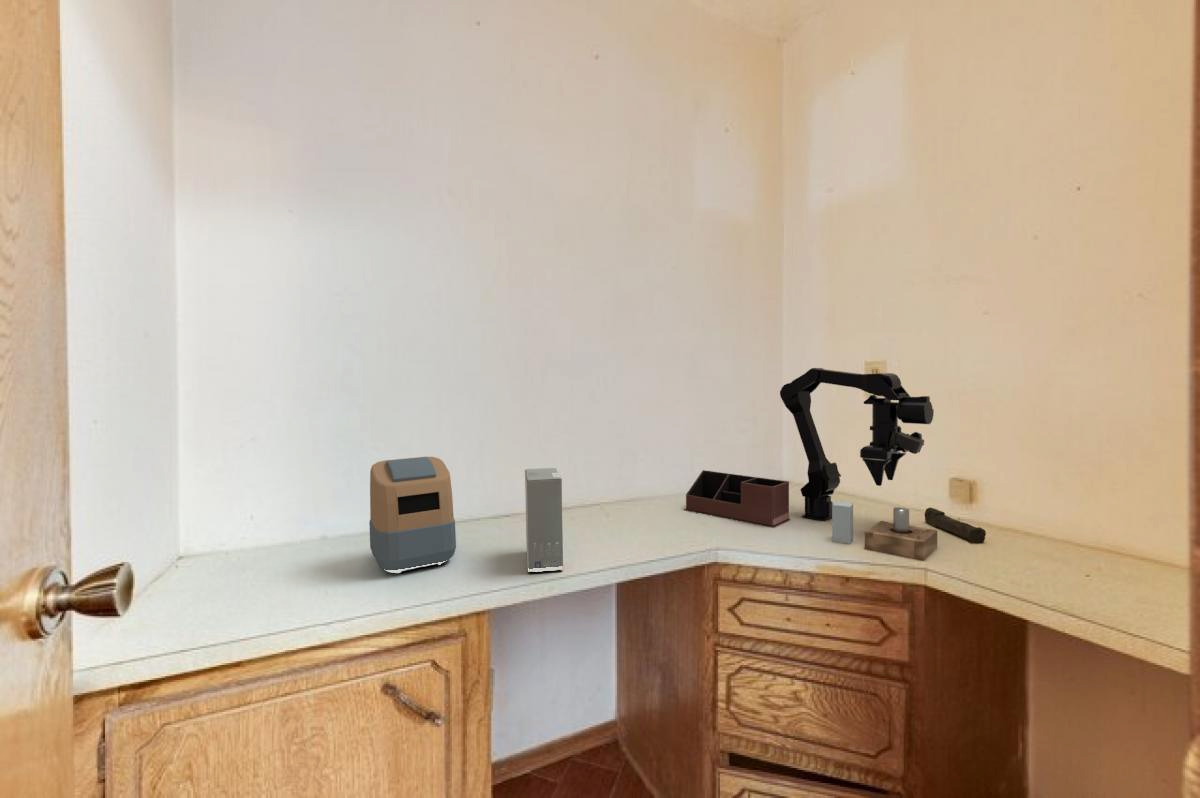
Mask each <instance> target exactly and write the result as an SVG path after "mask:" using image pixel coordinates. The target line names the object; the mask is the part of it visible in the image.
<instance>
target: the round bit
mask: <svg viewBox="0 0 1200 798" xmlns="http://www.w3.org/2000/svg"><path fill="white" fill-rule="evenodd" d="M892 510H893V511H892V513H893V514H892V515H893V518H892V523H893V532H894V533H900V534H909V526H910V509H909V508H906V507H901V506H900V507H899V506H898V507H896V506H895V507H893V509H892Z"/></svg>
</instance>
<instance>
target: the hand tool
mask: <svg viewBox="0 0 1200 798" xmlns="http://www.w3.org/2000/svg"><path fill="white" fill-rule="evenodd" d="M924 520H925V521H924V522H925V523H926V524H928V525H929V526H931V527H933V528H935V529H943V530H945V531H947V532H951V533H952V534H955V535H957V536H959V537H961V538H963V539H965V540H969V543H970V544H981V543H982V544H983V543H984V542H985V539H986V535H987V532H986V530H985V529H984V528H982V527H980V526H979V527H977V526H976V527H975V526H973V525H971V524H969V523H966V522H963V521H960V520H957V519H954V518H952V517H949V516H947V515H946V514H945V512H944V511H942V510H939V509H937V508H933V507H927V508H926V509H925V512H924Z"/></svg>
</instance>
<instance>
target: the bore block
mask: <svg viewBox="0 0 1200 798" xmlns="http://www.w3.org/2000/svg"><path fill="white" fill-rule="evenodd" d="M937 548H938V529H933V528H927V527H920V526H914V525H909V534H900V533H894V532H893V522H891V521H884V520H881V521H879V522H877V523H876V524H874V525H873V526H870V528H869V529H866V530H865V531H864V549H866V550H868V551H869V550H870V551H875V552H879V553H884V554H888V555H894V556H899V557H905V558H909V559H915V560H919V561H925V560H926V559H927V558H928V557H929V556H930V555H931V554H932V553H933V552H934V551H935V550H936V549H937Z"/></svg>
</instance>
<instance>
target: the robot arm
mask: <svg viewBox="0 0 1200 798" xmlns="http://www.w3.org/2000/svg"><path fill="white" fill-rule="evenodd" d="M820 384H828V385H835V386H842V387H850V388H856V389H859V390H861V391H863V392H865V393H868V394H871V395H869V397H868V398H867V399H865V400H864V401H863V404H864V405H872V409H871V410H872V413H871V414H872V415H871V416H872V417H871V419H872V420H871V421H872V425H870V426H869V431H871V432H872V433H871V434H872V436H871V437H872V440H871V441H870V442H869V445H866V446H865V445H864V446H863V447H861V448H860V451H859V453H860V454H859V457H860V458H861V460H862V461H863V462H864V464H865V465H866V468H868V471H869V473H870V475H871V477H872V479H873V481H874V483H875V485H876V486H879V487H881V486H882V485H883V480H884V474H885V476H886V478H887V480H888V481H893V480H894V476H895V472H896V471H897V467H898V463H899V461H900V459H902V458H903V457H904V456H906V455H907V453H908V452H909V453H911V454H914V455H916V454H918V453H920V452H921V450H922V447H923V446H924V445H925V439H923V435H922V433H920V432H917V431H914V432H912V433H911V434H909V433H904V432H902V427H901V426H900V425H899V424H898V423H899V421H898V420H900V421H901V422H902V424H915V425H930V424H932V421H933V420H934V408H933V404H932V402H931V397H930V396H929V395H928V396H926V395H922V396H911V395H910V394H909V393H908V392H907V390H906V389H905V388H904V386H903V385H902V382H901V379H900V377H899V376H898V375H897V374H895V373H892V372H890V373H889V372H885V373H884V372H882V373H855V372H850V371H849V372H848V371H840V370H833V369H825V368H823V367H813V368H810V369H809V370H806V372H805V373H803V374H802V375H799V377H797V378H795V379H793V380H792V381H791V382H788V383H786V384H783V386H781V389H780V391H779V395H780V398H781V401H782V402H783V405H784V406H785V407H786V409H787V410H788V411H789V412H790V413H791V414H792V416H793V419H794V423H795V425H796V428H797V431H798V435H799V437H800V441H801V443H802V447H803V450H804V452H805V455H806V458H807V463H808V467H807V477H808V482H807V483H806V484H804V485H803V487H801V488H800V493H801V496H802V497H804V514H802V516H801V517H802V518H806V519H807V518H808V519H813V520H818V521H827V520H830V519H832V505H833V504H834V503H833V501H832V496H831V495H833V494H834V492H835V490H836V489H837V488H838V487H839V485H840V483H841V479H840V477H842V474H841V473H840V472H839V469H838V465H837V462H832V463H831V462H830V461H829V459H827V457H826V454H825V451H824V450H825V449H824V447H823V445H822V442H821V439H820V435H819V434H818V431H817V427H816V424H815V421H814V418H813V416H812V412H811V404H812V397H811V394H812V393H813V392H814V391H815V390H816V389H817V388H818V387H819V386H820ZM896 401H897V402H896Z"/></svg>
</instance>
